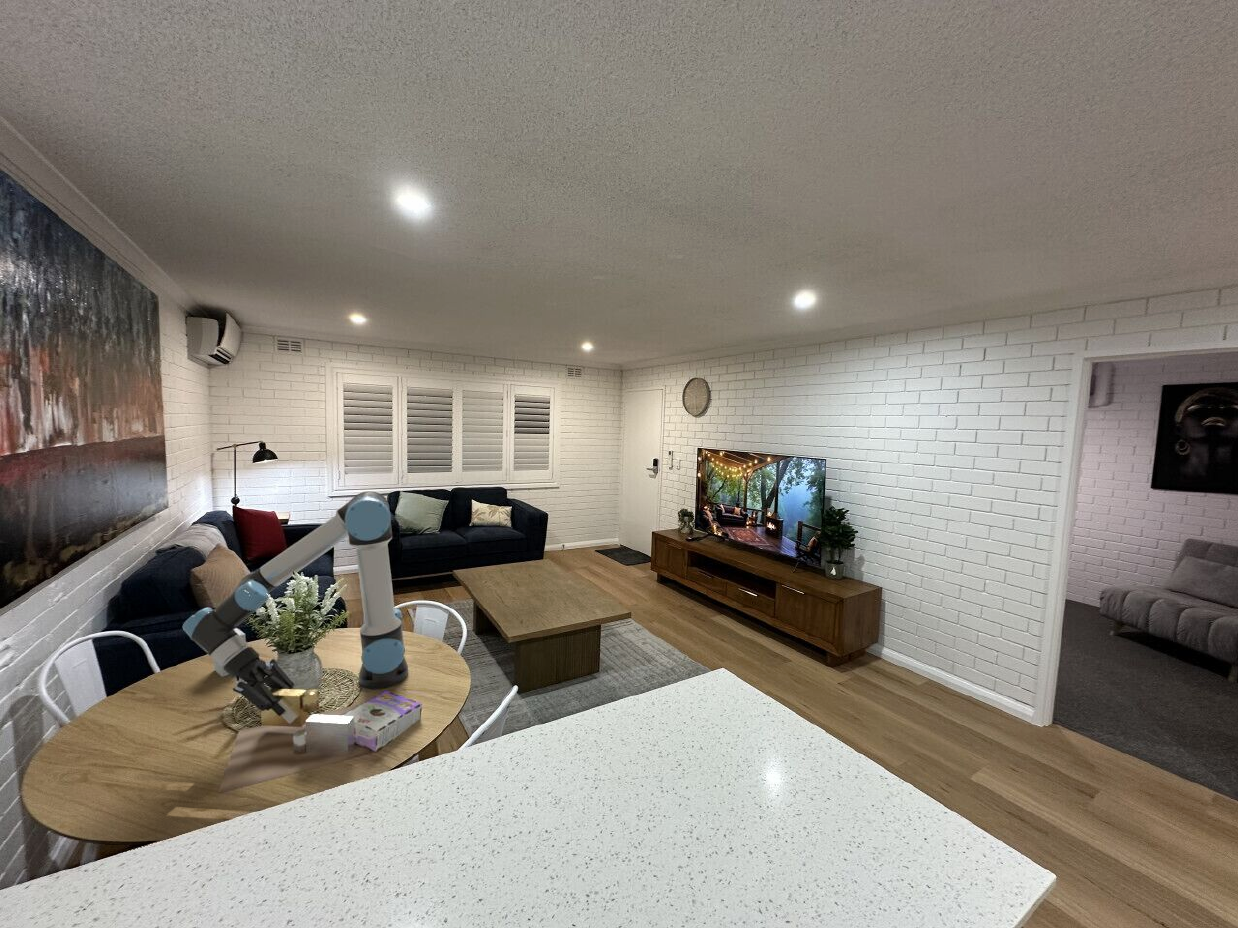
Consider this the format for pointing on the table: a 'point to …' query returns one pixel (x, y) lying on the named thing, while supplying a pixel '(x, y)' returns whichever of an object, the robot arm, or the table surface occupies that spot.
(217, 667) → the grey tall block
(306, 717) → the loose hinge leaf
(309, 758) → the walnut board
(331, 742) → the fixed hinge leaf
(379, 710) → the candy box
